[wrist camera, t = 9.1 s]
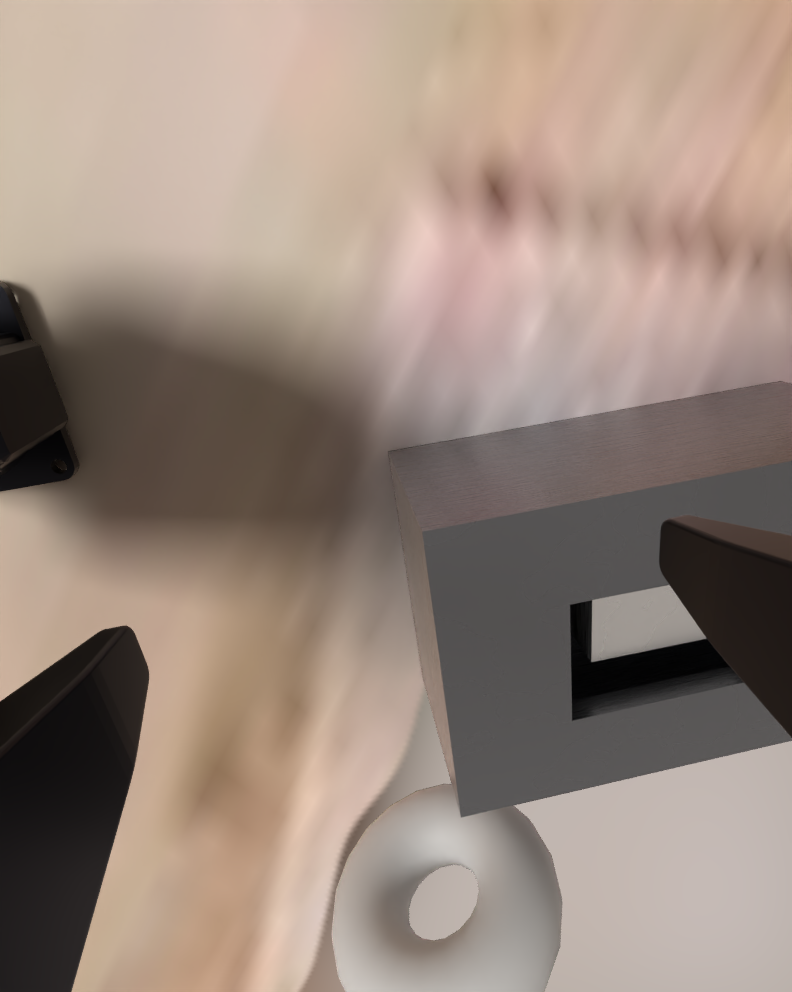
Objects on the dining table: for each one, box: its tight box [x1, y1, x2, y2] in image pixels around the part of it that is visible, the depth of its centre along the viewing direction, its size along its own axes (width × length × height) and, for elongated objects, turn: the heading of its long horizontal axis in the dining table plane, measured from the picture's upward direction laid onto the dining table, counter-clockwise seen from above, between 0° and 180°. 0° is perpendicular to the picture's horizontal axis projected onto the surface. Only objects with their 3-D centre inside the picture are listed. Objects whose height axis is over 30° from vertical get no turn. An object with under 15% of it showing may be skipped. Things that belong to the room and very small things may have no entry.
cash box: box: [388, 381, 792, 817], centre depth 20 cm, size 16×11×7 cm
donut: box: [332, 784, 562, 992], centre depth 24 cm, size 10×4×10 cm, turn 111°
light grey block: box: [570, 584, 707, 662], centre depth 21 cm, size 6×2×5 cm, turn 97°
